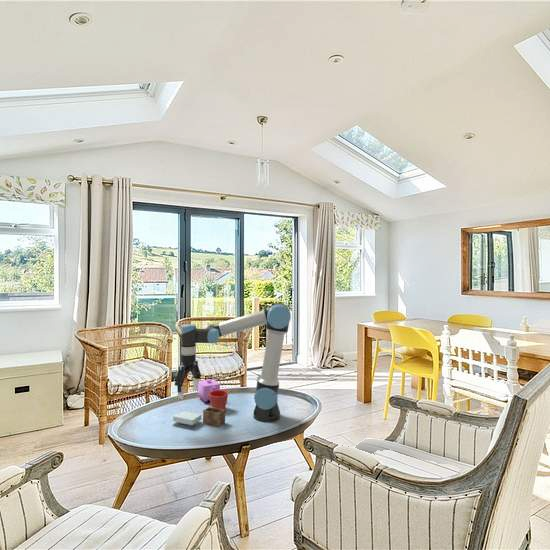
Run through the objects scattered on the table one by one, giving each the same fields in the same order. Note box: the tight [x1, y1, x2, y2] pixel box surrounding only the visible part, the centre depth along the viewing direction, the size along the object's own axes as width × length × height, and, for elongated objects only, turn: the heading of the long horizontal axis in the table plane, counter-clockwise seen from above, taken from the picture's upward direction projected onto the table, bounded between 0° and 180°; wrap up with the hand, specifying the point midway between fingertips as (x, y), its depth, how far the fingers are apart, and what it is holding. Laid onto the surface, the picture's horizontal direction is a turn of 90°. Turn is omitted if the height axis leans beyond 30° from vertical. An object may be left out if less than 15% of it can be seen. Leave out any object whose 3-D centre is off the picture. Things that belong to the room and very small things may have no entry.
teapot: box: [197, 378, 221, 404], centre depth 232 cm, size 20×10×12 cm, turn 28°
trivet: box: [172, 420, 203, 430], centre depth 195 cm, size 12×9×1 cm
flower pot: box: [209, 390, 229, 411], centre depth 217 cm, size 11×11×10 cm
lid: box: [172, 410, 202, 426], centre depth 196 cm, size 12×8×4 cm, turn 68°
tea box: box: [202, 406, 226, 428], centre depth 197 cm, size 10×6×7 cm, turn 68°
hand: (188, 394), depth 195 cm, fingers open, 13 cm apart
